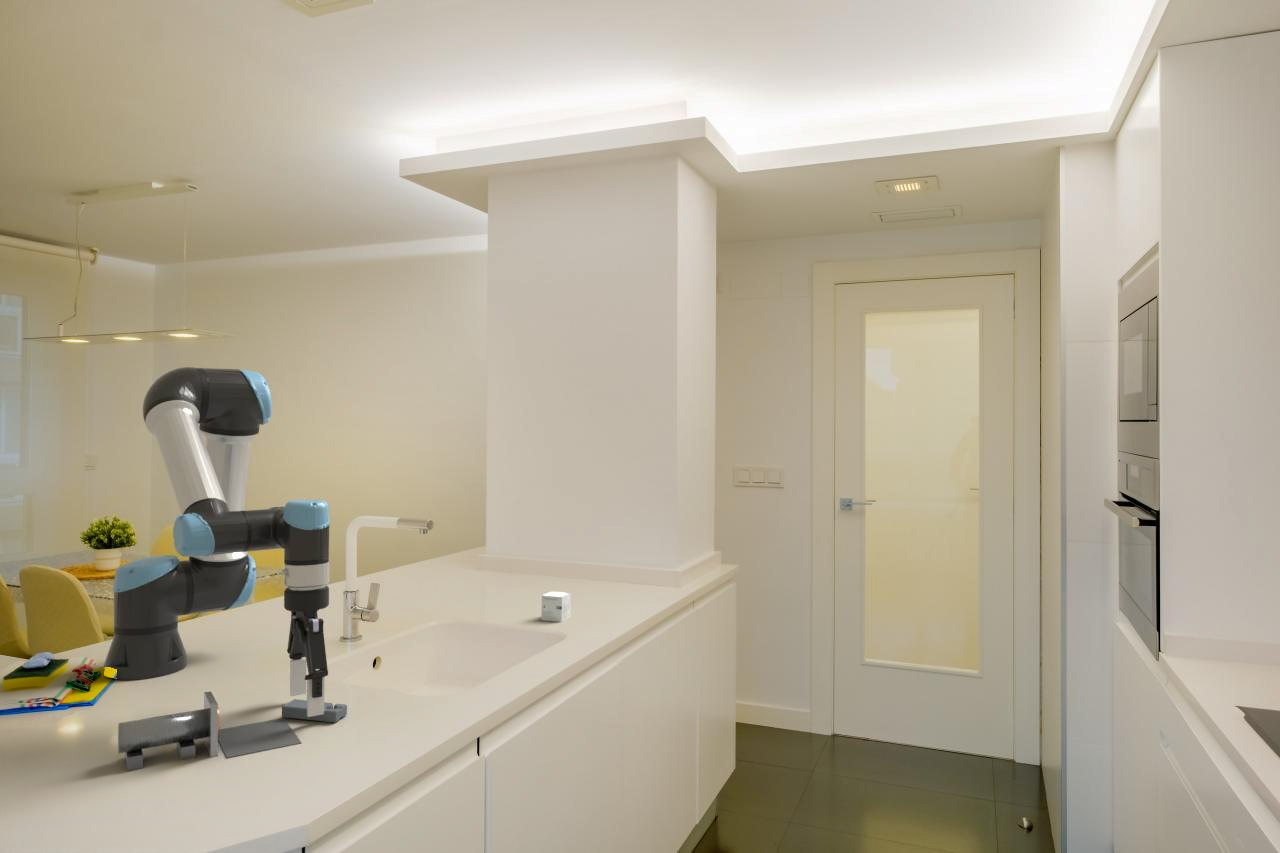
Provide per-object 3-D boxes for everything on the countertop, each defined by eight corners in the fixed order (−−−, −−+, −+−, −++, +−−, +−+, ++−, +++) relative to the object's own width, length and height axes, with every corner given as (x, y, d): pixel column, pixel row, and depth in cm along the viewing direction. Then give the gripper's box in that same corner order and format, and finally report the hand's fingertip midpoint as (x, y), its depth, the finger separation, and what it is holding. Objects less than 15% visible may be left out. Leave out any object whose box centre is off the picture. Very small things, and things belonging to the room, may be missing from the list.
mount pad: (214, 731, 141) (214, 730, 141) (283, 718, 147) (283, 717, 147) (226, 758, 129) (226, 757, 129) (301, 743, 135) (301, 742, 135)
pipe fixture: (117, 757, 129) (117, 705, 129) (213, 739, 137) (213, 690, 137) (119, 775, 123) (119, 720, 123) (220, 755, 130) (220, 704, 130)
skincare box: (540, 622, 221) (541, 594, 221) (550, 617, 226) (550, 590, 226) (561, 624, 219) (562, 596, 219) (571, 619, 224) (571, 592, 224)
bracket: (293, 709, 150) (294, 698, 150) (347, 715, 148) (347, 704, 148) (280, 717, 146) (281, 706, 146) (335, 723, 144) (335, 712, 144)
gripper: (270, 578, 158) (270, 690, 158) (300, 600, 137) (300, 729, 137) (312, 574, 162) (312, 683, 162) (346, 595, 142) (346, 720, 142)
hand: (306, 704), depth 150 cm, fingers open, 13 cm apart
